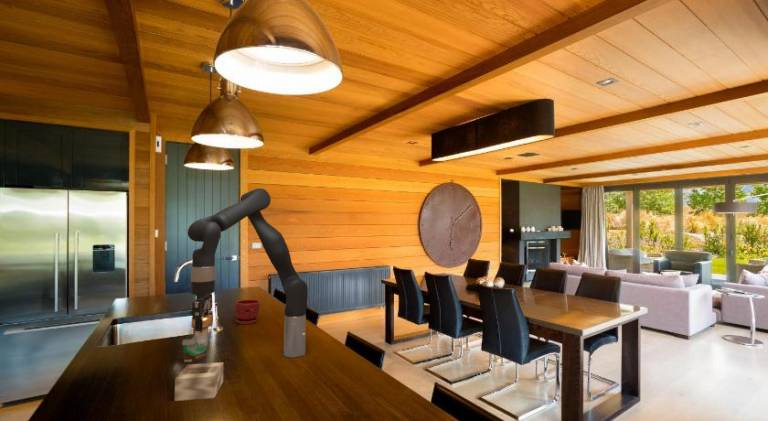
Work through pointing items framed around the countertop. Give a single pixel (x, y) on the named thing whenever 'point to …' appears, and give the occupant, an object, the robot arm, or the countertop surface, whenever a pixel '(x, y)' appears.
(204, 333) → the copper pin
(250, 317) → the plant pot
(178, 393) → the birch block
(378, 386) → the countertop surface
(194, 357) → the food container
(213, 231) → the robot arm
